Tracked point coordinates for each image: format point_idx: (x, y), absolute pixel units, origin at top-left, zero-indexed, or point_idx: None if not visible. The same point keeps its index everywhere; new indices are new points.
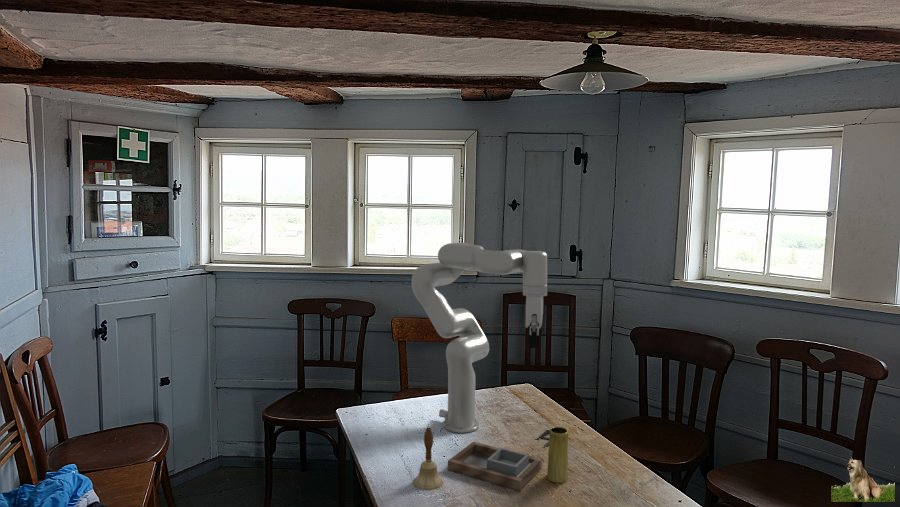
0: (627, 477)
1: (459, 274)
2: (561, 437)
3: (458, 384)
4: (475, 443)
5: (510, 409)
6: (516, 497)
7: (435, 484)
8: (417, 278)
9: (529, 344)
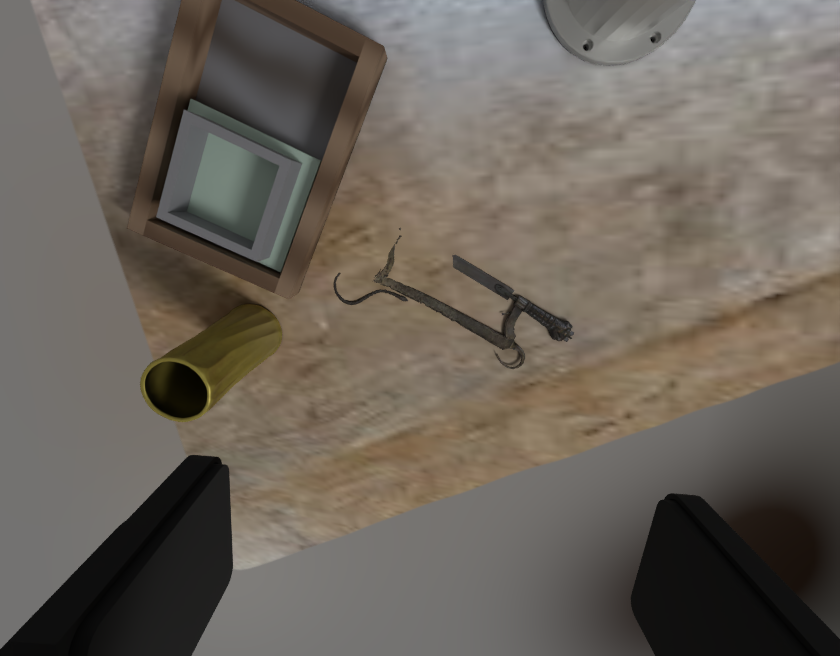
0: (299, 492)
1: None
2: (153, 390)
3: None
4: (367, 56)
5: (795, 200)
6: (114, 215)
7: None
8: None
9: (167, 486)
